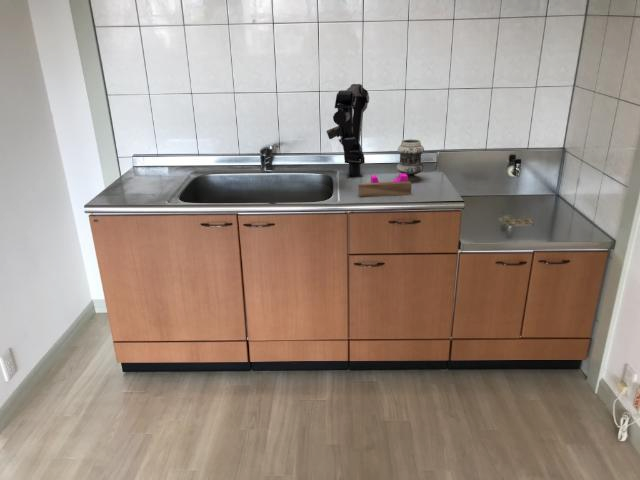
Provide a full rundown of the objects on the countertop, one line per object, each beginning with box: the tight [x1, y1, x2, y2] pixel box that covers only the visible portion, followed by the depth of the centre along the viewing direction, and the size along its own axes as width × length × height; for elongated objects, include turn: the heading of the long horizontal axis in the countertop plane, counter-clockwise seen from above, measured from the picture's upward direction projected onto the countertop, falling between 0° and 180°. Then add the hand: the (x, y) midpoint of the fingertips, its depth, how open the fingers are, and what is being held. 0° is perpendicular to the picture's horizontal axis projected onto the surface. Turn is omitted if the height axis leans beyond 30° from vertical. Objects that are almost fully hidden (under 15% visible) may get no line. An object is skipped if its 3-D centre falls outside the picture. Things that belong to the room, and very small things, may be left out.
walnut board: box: [357, 181, 412, 198], centre depth 214 cm, size 3×22×5 cm, turn 96°
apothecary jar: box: [396, 138, 425, 183], centre depth 231 cm, size 12×12×18 cm
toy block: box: [370, 173, 408, 183], centre depth 218 cm, size 15×6×8 cm, turn 95°
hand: (346, 156), depth 225 cm, fingers closed
